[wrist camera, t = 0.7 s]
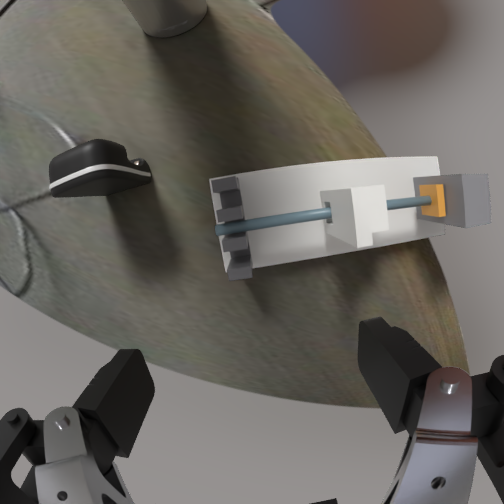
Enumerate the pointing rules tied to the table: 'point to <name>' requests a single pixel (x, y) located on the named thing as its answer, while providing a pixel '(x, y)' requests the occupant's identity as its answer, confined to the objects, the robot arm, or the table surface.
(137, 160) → the battery charger
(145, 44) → the table surface
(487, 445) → the robot arm
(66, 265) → the table surface
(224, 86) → the table surface
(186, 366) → the table surface
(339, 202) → the sleeve
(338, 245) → the cable jig
